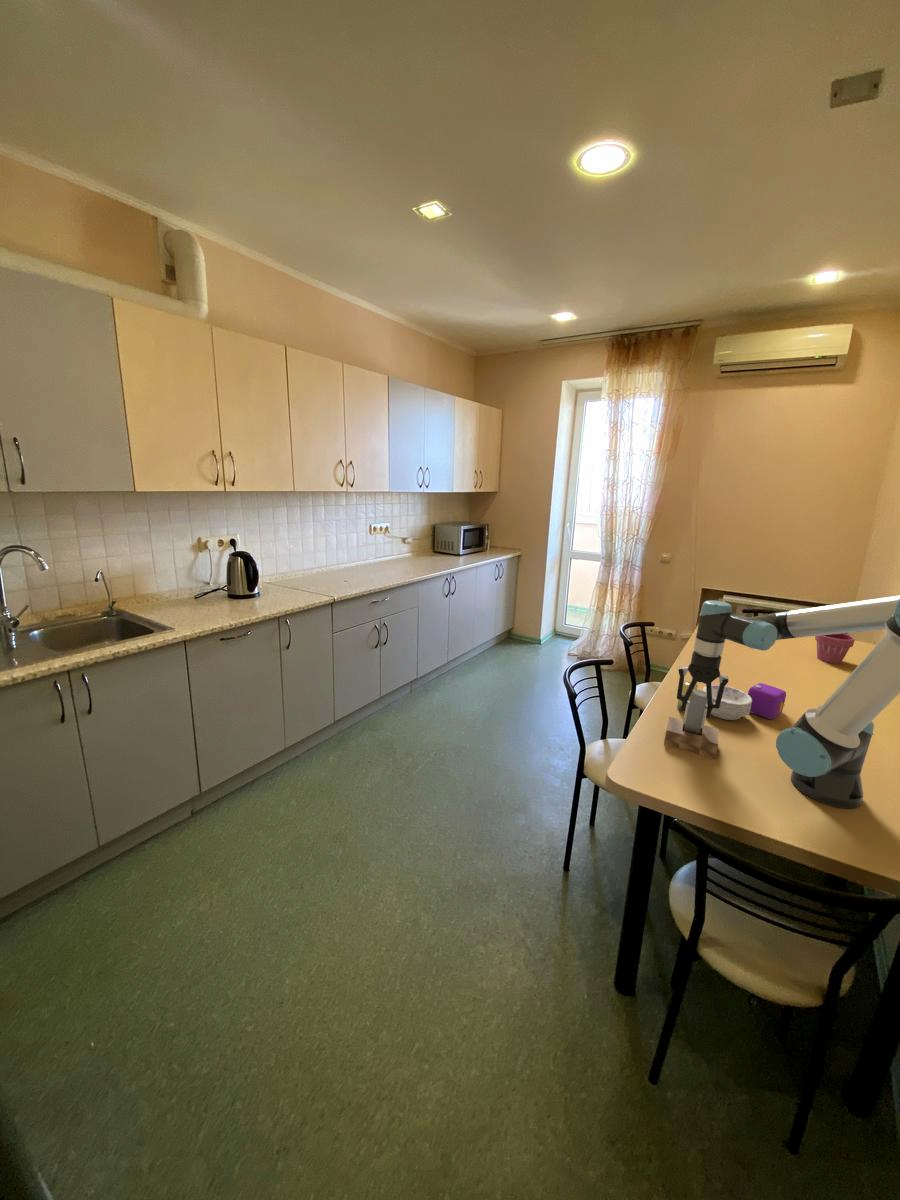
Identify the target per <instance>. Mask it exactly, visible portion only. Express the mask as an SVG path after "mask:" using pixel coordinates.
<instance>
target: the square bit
mask: <svg viewBox="0 0 900 1200" xmlns="http://www.w3.org/2000/svg"><path fill="white" fill-rule="evenodd" d="M706 700H707V692H705V691H702V690H699V689H697V690H696V689H693V691H692V693H691V697H690V702H689V708H688V713H687V718H686V723H685V728H684V732H688V733H692V734H696V735H699V734H700V729H701V724H702V719H703V715H704V710H705V705H706Z"/></svg>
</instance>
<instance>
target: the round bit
mask: <svg viewBox="0 0 900 1200" xmlns="http://www.w3.org/2000/svg"><path fill="white" fill-rule="evenodd" d="M691 681H692V680H684V683H683V689H682V695H683V696H684V695H685V693H686V691H687V689H688V687H689V685H690V683H691ZM698 687H699V685H698V684H697V683H696V685H695V687H694V689H696V690H698ZM690 697H691V695H690ZM690 697H689V699H688V701H690ZM681 707H682V701H681V700H679V699H677V705H676V709H677V710H678V711H680V712H682V711H681Z"/></svg>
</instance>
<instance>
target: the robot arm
mask: <svg viewBox="0 0 900 1200" xmlns="http://www.w3.org/2000/svg"><path fill="white" fill-rule="evenodd" d="M732 608H733V607H732V605H731V604H730V603H728V602H725V601H722V600H711V599H710V600H709V599H708V600H706V601H704V602H703V603H702V606H701V609H700V613H699V617H698V625H697V630H696V634H695V639H694V643H693V651H692V654H691V660H690V664H689V665H688V666H685V667H683V666H679V668H678V675H679V679H678V680H679V681H678V687H677V694H676V699H677V700H678V699H679V700H681V701H682V707H681V711H680V712H682V713H684V715H683V719H682V720H683V723H686V718H687V713H688V708H689V702H690V701H688V699H689V697H690V695H691V693H692V691H693V689H694V687H695V685H696V684H697V683H701V684H705V686H706V688H707V704H708V705H705V710H704V715H703V719H702V724H701V728H704V726H705V723H706V719H710V718H711V715H712V714H711V711H712V709H713V708H716V709H719V707H720V703H721V699H722V695H723V691H724V687H725V686H727V684H728V683H729V677H728V676H727V675H723V674H721V671H720V667H721V661H722V655H723V652H724V647H725V643H726V640H728V641H731V642H733V643H735V644H736V643H737V644H738V645H743V646H745V647H748V648H750V649H752V650H757V651H758V650H759V651H765V652H766V651H768V650H769V649H771V648H772V647H773V646H774V645H775V643H776V641H779V640H781V641H782V640H788V639H797V638H805V637H806V638H810V637H815V636H820V635H831V634H841V633H844V634H848V633H850V634H851V633H860V632H862V633H863V632H870V631H873V632H874V631H882V630H886V635H885V636H884V637H882V639H881V640H880V641H879V642H878V644H877V645H875V646H874V648H873V649H872V650H871V651H870V652H869V653H868V654H867V655H866V657H865V658H864V659H862V661H861V662H860V663H859V664H858V665H857V666H856V667H855V668H854V669H853V671H852V672H851V673H850V674H849V675H848V677H846V679H845V680H844V681H843V682H842V683H841V684H840V685H839V686H838V687H837V689H835V691H834V692H832V694H831V695H830V696H829V697H828V698H827V699H826V700H825V701H824V703H823V704H821V705H818V707H817V708H809V709H807V710H806V711H805V712H804V713H803V714H802V716H801V717H799V718H798V719H797V721H796V722H795V723H794V724H793V725H792V726H791V727H787V728H785V729H783V730H782V731H781V732H780V733H779V734H778V735H777V738H776V740H775V747H776V749H777V754H778V756H779V758H780V760H781V761H782V762H783V763H784V765H785V766H787V768H789V769H790V770H792V771H791V775H790V782H791V783H792V785H793V786H794V787H795V788H796V789H797V790H799V791H800V792H801V793H802V794H804V795H806V796H807V797H809V798H811V799H813V800H815V801H816V802H817V801H818V802H820V803H822V804H825V805H828V806H831V807H835V808H842V809H855V808H859V807H860V806H861V805H862V802H863V799H864V791H863V784H862V783H863V782H862V777H861V773H862V769H863V766H864V763H865V760H866V756H867V753H868V750H869V747H870V743H871V742H872V741H871V740H872V737H873V736H874V730H875V724H874V722H873V721H874V719H875V718H876V717H878V715H879V714H881V712H882V711H884V710H885V709H886V708H887V707H888V706H889V705H890V704H891V703H892V702H893V701H894V700H895V699H896V698H897V697H898V696H899V695H900V594H897V595H891V596H882V597H876V598H870V599H862V600H856V601H849V602H842V603H836V604H835V603H834V604H829V605H822V606H814V607H808V608H801V609H800V608H799V609H794V610H789V611H788V610H786V611H777V612H772V613H769V614H768V613H767V614H764V615H763V614H762V615H757V616H756V615H755V616H751V617H749V616H748V617H747V616H744V615H740V614H737V613H733V612H732ZM688 673H689V674H690V676H691V677H692V678H691V680H690V681H691V683H690V685H689V687H688V689H687V691H686V693H685V695H684V696H683V695H682V689H683V683H684V681H685V676H686V675H687V674H688ZM716 679H718V682H719V684H718V685H719V689H718V693H717V697H716V701H715V703H712V688H711V685H712V683H713V682H714V681H715V680H716Z"/></svg>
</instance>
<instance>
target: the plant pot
mask: <svg viewBox="0 0 900 1200" xmlns="http://www.w3.org/2000/svg"><path fill="white" fill-rule="evenodd" d="M814 637H815V638H814V640H815V641H816V658H817V660H819V661H822V662H824V663H829V664H841V663H842V661H843V660H844V659H845V657H846V656H847V653H848V652H849V650H850V649H851V648H852V647H854V643H855V640H856V639H855V637H854V636H852V635H850V634H848V633H841V634H831V635H820V636H814Z"/></svg>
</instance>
